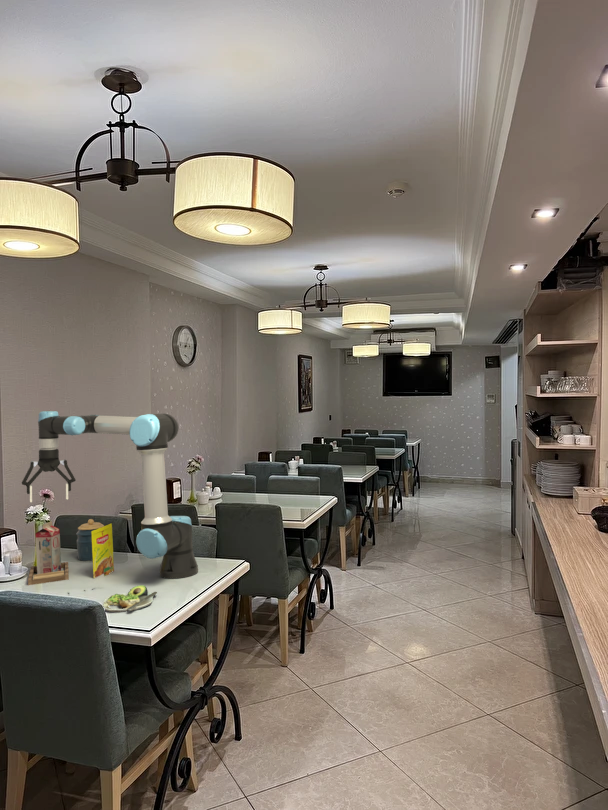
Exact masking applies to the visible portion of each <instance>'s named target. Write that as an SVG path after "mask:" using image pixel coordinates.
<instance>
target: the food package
mask: <svg viewBox="0 0 608 810" xmlns="http://www.w3.org/2000/svg"><path fill="white" fill-rule="evenodd" d="M91 532H92V555H93V560H92V574H93V579H96V578H98V577H100V576H101V575H103V576H104V577H106V576H108V575H110V574H111V572H112V571H113V572H115V566H114V542H113V541H114V540H113V523H111V522H110V523H109V524H106V525H104V527H101V528H99V529H96V530H93V531H91ZM113 572H112V573H113ZM109 573H110V574H109Z"/></svg>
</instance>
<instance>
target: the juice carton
mask: <svg viewBox="0 0 608 810" xmlns="http://www.w3.org/2000/svg"><path fill="white" fill-rule="evenodd" d="M60 533H61V532H60V528H58V527H56V526H54V525H53V521H49V522H47V523H44V524H42V528H41V529H40V530H38V531H37V532H35V550H36V551H35V553H36V566H37V572H36V573H37V574H43V573H50V572H57V571H62V568H61V563H62V556H61V555H62V553H61V536H60V535H61V534H60Z"/></svg>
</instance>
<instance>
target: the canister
mask: <svg viewBox="0 0 608 810" xmlns="http://www.w3.org/2000/svg"><path fill="white" fill-rule="evenodd" d="M104 526H105V525H104V524H102V523H101V522H99V521H98V522H97V521H94V519H93V518H90V519H88V521H87V523H83V524H81V525H80V526H78V527H77V530H78V531H77V532H76V534H75V535H76V536H77V539H76V550H77V552H76V553H77V554H76V557H77V559H78V560H79V561H83V562H84V561H85V562H86V561H87V562H88V561H89V562H90V561H93V555H92V532H91V531H93V530H96V529H99V528H101V527H104Z"/></svg>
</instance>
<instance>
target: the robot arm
mask: <svg viewBox="0 0 608 810" xmlns="http://www.w3.org/2000/svg"><path fill="white" fill-rule="evenodd" d="M37 419H38V420H37V423H38V424H37V425H38V449H39V450H38V461H34V460H32V461H30V463H29V468H28V469H27V471H26V474H25V475H24V476H23V480H22V481H21V485H23V486H26V494H27V495H29V502H30V503H33V485H32V484H33V482H35V480H36V478H38V477H39V475H40V474H41V473H42V472H45V473H47V472H54V471H56V472H57V473H58V474H59V475H60V477H62V479H64V481H66V482H65V500H69V492H71V491H72V483H74V482H76V477H75V476H74V474H73V472H72V471H71V469H70V467H69V465H68V460H67V459H63V460H60V454H59V453H60V452H59V447H60V446H59V445H60V440H59V439H60V437H59V436H60V435H63V436H64V435H66V436H79V435H83V434H107V435H127V436H129V438H130V440H131V441H132V444H134V445H135V447H136V448H135V449H136V451H137V453H139V454H140V458H141V459H140V461H141V474H142V475H141V476H142V477H141V478H142V492H143V493H142V494H143V506H144V507H143V508H144V518H143V519H142V521H141V522H140V526H141V527H140V528H141V530H140V531H139V532H138V534H137V535H136V540H135V545H136V547H137V549H138V551H139V552H140V554H142V556H144V558H148V559H152V560H153V559H158V558H162V560H161V564H160V568H159V577H161V578H163V577H165V578H164V579H181V578H186V577H191V576H194V575H196V574H198V573H199V565H198V563H197V560H196V558H195V555H194V550H193V549H194V548H193V547H194V546H193V525H192V519H191V518H190V516H187V515H169V512H168V511H169V508H168V494H167V480H166V479H167V478H166V464H165V461H166V460H165V452H166V451H167V450H168V448H169V446H168V445H169V444H168V443H169V442H171V441H173V440H174V439H175V438H177V435H178V433H179V430H180V429H179V427H180V426H179V423H178V420H177V419H176V418H175V417H174V416H173V415H171V414H169V413H147V414H142V415H139V416H124V415H123V416H119V415H99V414H89V415H71V416H69V415H65V416H62V415H60V416H59V412H58V411H55V410H51V411H50V410H49V411H48V410H47V411H46V410H43V411H40V412H39V413H38V418H37ZM37 465H38V467H39V468H38V469H37V471H36V472H35V473H34V474H33V475H32V477H31V478H30V475H31V473H32V471H33V469H34V468H35V467H36V466H37ZM59 465H62V466H64V469H66V472H67V474H68V475H69V477H70V479H69V478H68V476H67V475H66V474H65V473H64V472H62V470H61V469H60V468H59ZM29 478H30V479H29ZM28 479H29V480H28Z"/></svg>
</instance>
